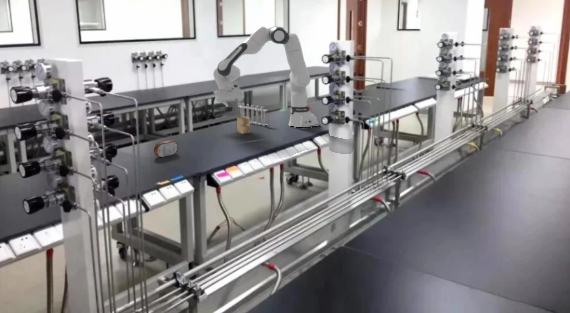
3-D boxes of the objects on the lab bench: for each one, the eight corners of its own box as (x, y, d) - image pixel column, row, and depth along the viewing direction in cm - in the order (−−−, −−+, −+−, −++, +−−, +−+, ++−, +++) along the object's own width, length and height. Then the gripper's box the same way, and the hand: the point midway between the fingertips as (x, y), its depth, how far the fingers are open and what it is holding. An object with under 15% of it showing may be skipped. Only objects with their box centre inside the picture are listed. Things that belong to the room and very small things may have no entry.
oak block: (244, 130, 340) (244, 116, 337) (249, 132, 335) (249, 117, 332) (237, 132, 336) (237, 117, 334) (242, 133, 332) (241, 118, 329)
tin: (175, 152, 289) (175, 138, 287) (179, 153, 287) (178, 139, 285) (153, 158, 278) (152, 143, 276) (157, 159, 276) (156, 144, 274)
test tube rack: (267, 125, 362) (268, 106, 358) (263, 126, 359) (264, 107, 355) (241, 120, 377) (241, 102, 373) (237, 121, 373) (237, 103, 370)
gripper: (214, 87, 337) (221, 104, 333) (240, 85, 349) (248, 101, 344) (210, 93, 342) (218, 110, 337) (237, 90, 354) (244, 107, 349)
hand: (233, 105), depth 341 cm, fingers open, 8 cm apart
